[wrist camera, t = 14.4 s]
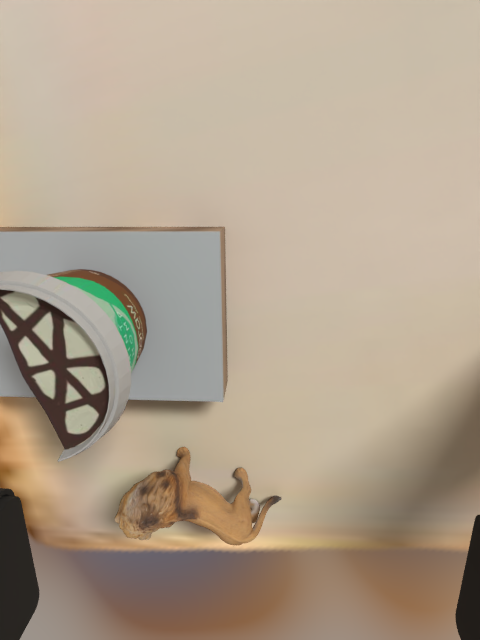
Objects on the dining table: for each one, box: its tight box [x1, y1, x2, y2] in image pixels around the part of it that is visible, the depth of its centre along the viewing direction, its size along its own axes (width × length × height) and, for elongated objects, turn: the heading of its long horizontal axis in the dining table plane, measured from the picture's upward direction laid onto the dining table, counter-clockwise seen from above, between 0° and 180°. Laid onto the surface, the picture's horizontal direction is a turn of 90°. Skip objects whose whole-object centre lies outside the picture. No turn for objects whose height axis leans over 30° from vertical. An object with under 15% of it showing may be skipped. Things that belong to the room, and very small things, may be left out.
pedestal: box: [0, 227, 227, 402], centre depth 35 cm, size 20×14×4 cm
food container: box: [0, 269, 147, 462], centre depth 28 cm, size 12×6×10 cm, turn 18°
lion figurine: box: [115, 447, 281, 545], centre depth 38 cm, size 15×5×9 cm, turn 75°
